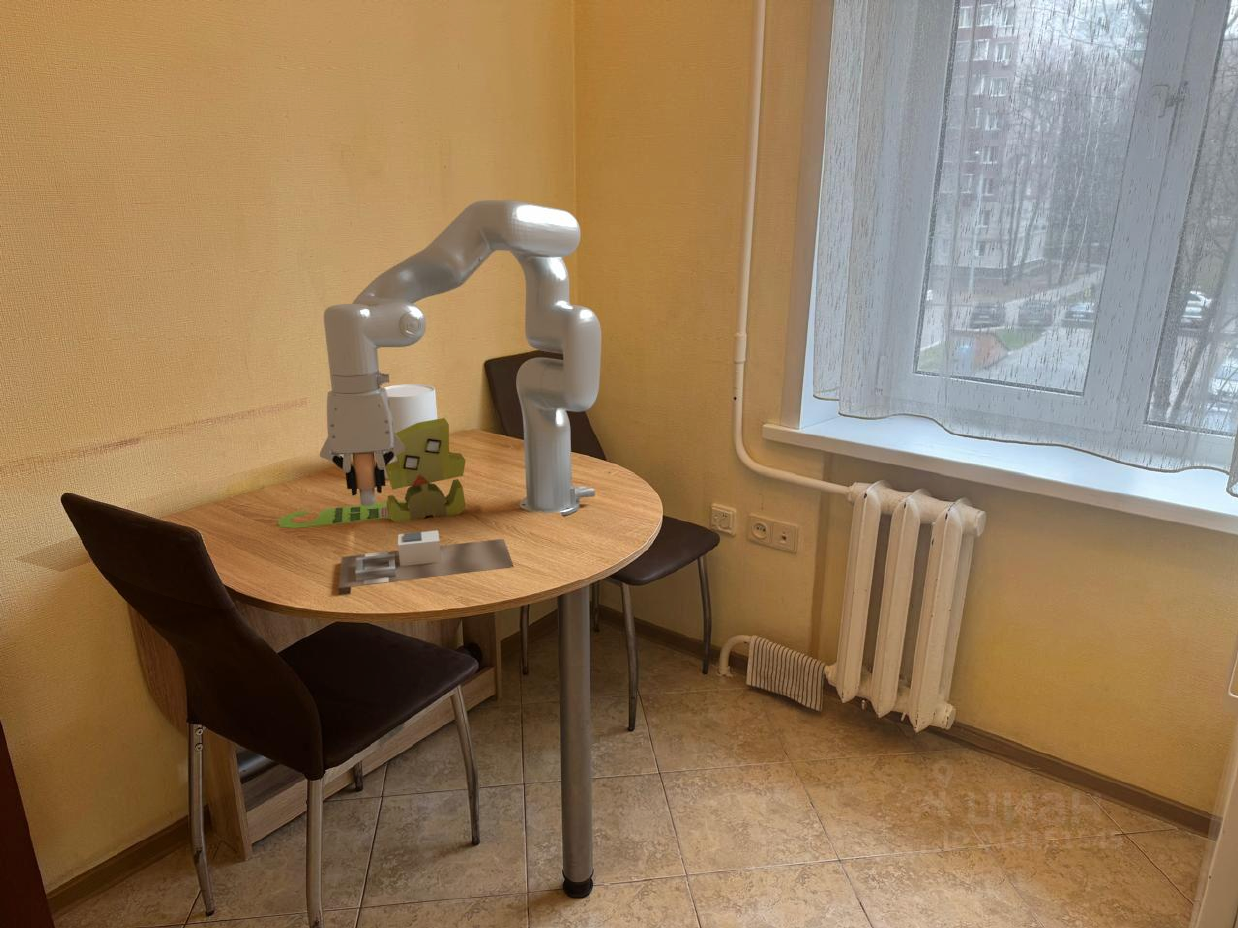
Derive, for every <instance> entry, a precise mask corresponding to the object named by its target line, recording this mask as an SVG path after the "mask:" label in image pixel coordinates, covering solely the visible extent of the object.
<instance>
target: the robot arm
mask: <svg viewBox="0 0 1238 928" xmlns="http://www.w3.org/2000/svg"><path fill="white" fill-rule="evenodd" d="M581 235H582V234H581V227H580V224H579V222H578V221H577V218H576V217H575V216H574V215H573V214H572V213H571V212H570V211H567V210H565V209H562V208H555V207H550V206H544V205H540V204H535V203H530V202H526V201H520V200H512V199H510V200H509V199H502V200H501V199H500V200H499V199H497V200H496V199H495V200H494V199H493V200H492V199H491V200H490V199H489V200H488V199H487V200H486V199H484V200H483V199H481V200H477V201H474V202H472V203H471V204H469V205H467V206H466V207H465V208H464V209H463V210H462V211H461V212H460V213H459V214H458V215H457V216H456V217H455V218H454V219H453V221H451V223H450V224H448V225H447V227H446V228H445V229H444V230H442V232H441V233H439V234H438V235H437V237H435V238H434V239H433V240H432V241H431V242H430V243H429V244H428V245H427V246H426V247H425V248H424V249H422V250H420V251H418V252H416V253H414V254H413V255H412V254H411V256H409V257H407V258H405V259H404V260H402V261H400V262H399V263H396V264H395V265H393V266H392V267H390V268H388V269H386V270H385V271H384V272H382V273H381V274H380V275H378V276H377V277H375V278H374V280H372V281H371V282H370V283H369V284H368V285H367V286H366V287H365V288H364V289H363V290H362V291H360V293H359V294H358V295H357V296H356V297H355V299H354V300H353V301H352V303H343V304H342V303H340V304H335V305H330V306H328V307H327V308H326V309H325V310H324V313H323V325H324V334H325V343H326V351H327V361H328V368H329V369H328V370H329V376H330V377H329V379H330V387H331V390H330V391H327V394H326V396H327V397H326V427H327V438H326V439H325V441H324V443H323V445H322V447H321V449H320V452H319V458H322V459H324V460H327V461H329V462H332V463H333V464H334V465H336V466H338V467H339V469H342V471H343V473H344V474H345V481H346V489H347V490H351V495H352V496H357V494H358V489H357V488H356V481H355V472H354V465H353V464H352V458H353V456H352V454H357V453H369V452H374V458H375V468H376V469H375V476H376V485H377V487H376V492H377V493H378V494H379V493H380V494H382V493H383V492H382V491H383V487H386V485H387V484H386V478H385V473H384V468H385V466H386V465H387V464H388V463H389V462H390V461H391V460H392V459H393V457H395V456H397V455H398V454H400V453H401V452H403V451H404V450H405V445H404V444H403V443H402V441H401V440H400V439H399V437H398V436H397V435H396V433H395V432H394V431H393V423H392V416H391V409H390V404H389V399H388V395H387V392H386V389H385V388H384V387H381V386H383V384H385V383H390V374H389V373H386V374H385V373H382V372H380V365H379V364H380V363H379V356H378V353H379V352H378V349H379V348H406V347H409V346H413V345H415V344H417V343H418V342H419V341H420V340H421V339H422V338H423V336H424V334H425V332H426V328H427V321H426V320H427V319H426V317H425V314H424V313H423V311H422V310H421V309H420V307H418V306H417V305H416V304H415V303H416V302H419V301H421V300H424V299H426V298H428V297H432V296H438V295H440V294H444V293H447V292H450V291H453V290H456V289H458V288H460V287H462V286H463V285H464V284H465V283H466V282H467V281H468V280H469V279H470V277H471V276H473V274H474V273H476V271H477V270H478V269H479V268H480V266H482V265H483V264H484V262H485V261H486V260H487V259H488V258H489V257H490V256H491V255H492V254H493V253H495V252H496V251H506V252H507V251H508V252H510V253H511V254H512V256H514V258H515V259H516V260H517V262H518V263H519V266H520V267H521V269H522V271H523V275H524V278H525V280H524V281H525V315H524V316H525V317H524V319H525V320H524V321H525V322H524V328H525V329H524V330H525V331H524V333H525V338H526V341H527V343H528V344H529V346H530V347H532V348H534V349H536V350H538V351H542V352H543V351H544V352H549V353H554V354H562V357H563V359H557V358H549V357H542V356H541V357H540V356H539V357H534V358H530V359H528V360H526V361H525V362H523V363H522V364H521V365H520V367H519V368H518V371H517V373H516V379H515V380H516V381H515V383H516V391H517V395H518V399H519V404H520V409H521V414H522V415H521V416H522V424H523V445H524V446H523V447H524V465H525V466H524V468H525V487H526V488H525V490H526V496H525V497H524V498H523V499H521V500H519V501H520V502H519V509H521V510H522V509H524V510H525V511H528V512H533V513H538V514H555V513H560V515H561V516H566V515H570V514H572V513H573V514H574V513H575V512H576V511H577V510H579V508H580V505H581V503H580V502H581V501H580V500H581V498H591V497H592V498H593V497H595V492H596V491H595V488H594V487H587V486H586V485H580V486H575V485H574V484H573V482H572V481H573V478H572V475H573V474H572V447H571V445H572V444H571V442H572V441H571V425H570V424H571V423H570V419H569V415H568V413H567V411H569V412H573V413H581V412H585V411H588V410H589V409H591V408H592V406H593V405H594V404H595V402H596V400H597V398H598V395H599V394H598V393H599V390H600V379H601V378H600V377H601V358H602V357H601V356H602V328H601V324H600V321H599V319H598V317H597V315H596V314H595V312H594V311H593V310H591V309H590V308H588V307H586V306H583V305H578V304H577V305H576V304H575V305H574V304H571V302H570V277H569V276H570V275H569V271H568V267H567V266H566V263H565V262H564V258H567V257H569V256H571V255H572V254H573V253H574V252H575V251H576V250H577V248H578V247H579V246H580V243H581V242H580V241H581V237H582V236H581ZM393 445H394V447H393ZM392 447H393V448H392ZM391 448H392V449H391ZM389 449H390V450H389ZM387 450H388V451H387ZM383 451H387V452H386V453H385V454H383ZM341 455H342V456H341Z"/></svg>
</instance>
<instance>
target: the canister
mask: <svg viewBox="0 0 1238 928" xmlns="http://www.w3.org/2000/svg"><path fill="white" fill-rule="evenodd" d="M383 388H385V389H386V392H387V395H388V399H389V404H390V409H391V416H392V423H393V431H394V432H395V433H398V432H400V431H402V430H404V429H406V428H408V427H410V426H412V425H414V424H416V423H419V422H424V421H430V420H436V419H439V418H438V407H437V395H436V387H434V386H433V385H430V384H429V385H428V384H423V383H408V384H407V383H403V384H396V385H390V386H384V387H383ZM393 447H394V445H393ZM393 447H392V448H393ZM392 448H391V449H392ZM389 450H390V449H389ZM387 451H388V450H387ZM387 451H383V454H385V453H386V452H387ZM395 461H397V458H396V456H395V457H393V459H392V460H391V461H390V462H389V463H388V464H390V463H393V462H395ZM384 473H385V479H386V480H389V478H388V476H387V472H386V469H385V468H384Z"/></svg>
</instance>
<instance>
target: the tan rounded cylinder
mask: <svg viewBox="0 0 1238 928" xmlns="http://www.w3.org/2000/svg"><path fill="white" fill-rule="evenodd" d="M352 462H353V464H352V465H353V467H354V472H355V481H356V488H357V490H359V500H360V505H363V506H369V505H373V504H377V502H376V492H375V488H377V485H376V476H375V469H376V468H375V466H376V457H375V453H374V452H369V453H357V454H352Z"/></svg>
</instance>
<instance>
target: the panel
mask: <svg viewBox="0 0 1238 928" xmlns="http://www.w3.org/2000/svg"><path fill="white" fill-rule="evenodd" d="M505 541H506V540H505V538H500V539H498V538H497V539H489V540H481V541H480V540H479V541H473V542H465V543H464V542H461V543H454V544H453V543H452V544H446V545H440V553H441V562H435V563H426V564H417V565H408V566H400V559H399V550H391V551H378V552H370V553H367V552H366V553H364V554H355V555H346V556H341V561H340V570H339V578H338V595H347V594H348V595H349V594H351V591H352V587H361V586H369V585H379V584H385V583H386V584H387V583H395V582H400V581H401V582H403V581H409V580H410V581H412V580H419V579H427V578H436V577H444V576H452V575H460V574H469V573H477V572H483V571H484V572H485V571H493V570H501V569H508V568H509V569H511V568H515V567H514V564H513V560H512V558H511V555H510V552H509V549H508V547H507V544H506V542H505Z"/></svg>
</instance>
